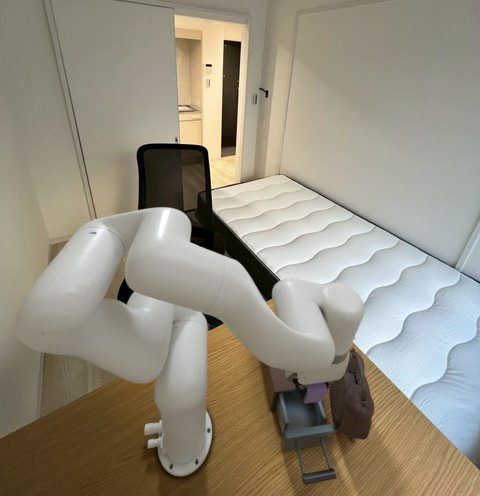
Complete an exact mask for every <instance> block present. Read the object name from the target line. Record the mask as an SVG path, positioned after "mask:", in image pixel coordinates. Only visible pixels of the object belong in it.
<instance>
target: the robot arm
mask: <svg viewBox="0 0 480 496" xmlns="http://www.w3.org/2000/svg"><path fill="white" fill-rule="evenodd" d="M191 236H192V222H191V220H190V218H189V217H188V216H187V214H185V212H183V211H181V210H180V209H177V208H173V207H166V206H164V207H163V206H160V207H150V208H149V207H148V208H144V209H138V210H133V211H128V212H122V213H118V214H117V213H116V214H113V215H112V214H111V215H107V216H103V217H98V218H94V219H93V220H92V219H91V220H90V221H89V222H86V223H84V224H83V225H82V226H81V227H79V228H77V230H76V231H75V232H74V233H73V235H72V236H71V237H70V238H69V240H68V241H67V242H66V243H65V245H64V246H63V247H62V248H61V249H60V251H59V252H58V253H57V255H56V256H55V257H54V258H52V260H51V262H50V263H49V264H48V265H47V267H45V269H44V271H43V272H42V273H41V274H40V275H39V277H38V278H37V280H36V281H35V282H34V284H33V285H32V287H30V289H29V290H28V293H27V294H26V296H24V299H23V300H22V302H21V304H20V305H19V308H18V309H17V312H16V315H15V319H14V331H15V334H16V336H17V337H18V339H19V340H20V342H22V343H23V344H24V345H25V346H27V347H29V348H30V349H31V350H34V351H36V352H40V353H45V354H49V355H56V356H57V355H58V356H69V357H74V358H77V359H81V360H83V361H85V362H87V363H89V364H91V365H93V366H95V367H97V368H99V369H101V370H104V371H106V372H108V373H110V374H111V375H114V376H116V377H118V378H120V379H123V380H125V381H128V382H129V383H133V384H136V385H146V384H149V383H151V382H153V381H154V380H155V382H154V388H153V401H154V403H155V406H156V407H157V409H158V410H159V415H160V416H159V417H160V420H159V422H150V423H149V422H148V423H145V425H144V430H143V436H152V435H154V434H157V438H151V439H148V440H147V449H154V448H157V454H158V458H159V461H160V463H161V465H162V467H163V469H164V470H165V471H166V472H167V473H168V474H170V475H172V476H175V477H179V478H180V477H187V476H189V475H191V474H192V473H194V472H196V470H198V469H199V468H200V467H201V466H202V465H203V463H204V461H205V460H206V459H207V456H208V454H209V451H210V448H211V444H212V439H213V426H212V425H213V424H212V421H211V417H210V414H209V413H208V410H207V395H208V382H209V380H208V374H209V373H208V371H209V369H208V367H209V365H208V364H209V363H208V359H209V358H208V357H209V355H208V354H209V351H208V340H209V339H208V337H209V332H208V331H209V330H208V321H207V319H206V317H205V315H208V316H212V317H215V318H217V319H219V320H220V321H221V322H222V323H223V325H224V326H225V327H226V328H227V329H228V331H229V332H230V333H231V334H232V336H233V337H234V338H235V339H236V340H237V341H238V342H239V343H240V345H242V346H243V347H244V348H245V349H246V350H247V351H248V352H249V353H250V354H251V355H252V356H253V357H254V358H256V359H257V360H258V361H260V362H261V363H262V362H263V363H265V364H266V365H268V366H271V367H274V368H278V369H282V370H286V371H285V372H284V375H285V379H286V380H287V381H293V383H294V384H295V388H296V392H297V393H299V395H300V399H301V400H302V399H304V397H305V394H306V391H307V389H306V386H307V384H314V383H322V382H325V384H326V386H327V389H328V391H327V393H329V386H330V385H333V384H334V380H338V379H341V378H342V377H343V375H344V373H346V372H348V371H349V369H348V367H347V366H348V362H349V349H350V350H351V347H352V345H353V342H354V340H356V335H357V333H358V331H359V328H360V326H361V324H362V321H363V318H364V315H365V303H364V301H363V299H362V298H361V296H360V294H359V293H358V292H357V291H356V290H355V289H353V288H352V287H351V286H349V285H347V284H345V283H341V282H330V283H329V282H328V283H327V284H325V283H319V282H313V281H308V280H305V279H300V278H284V279H281V280H279V281H277V282H276V283H275V284H274V285H273V288H272V291H271V299H272V304H273V307H274V310H272V309H271V308H270V306H269V305H268V303H267V302H266V301H265V299H264V297H263V296H262V294H261V292H260V291H259V289H258V287H257V285H256V284H255V281H254V280H253V278H252V277H251V275H250V274H249V272H248V271H247V270H246V268H245V267H244V266H243V265H242V264H241V262H239V261H238V260H237V259H234V258H231V257H228V256H226V255H223V254H220V253H218V252H216V251H213V250H210V249H207V248H205V247H202V246H200V245H197V244H195V243H193V242H191ZM124 257H126V260H125V264H124V280H125V282H126V284H127V286H128V288H129V289H131V290H132V291H133V293H131V295H130V296H129V299H128V301H127V303H125V302H122V301H121V300H118V299H114V298H105V297H106V295H107V292H108V290H109V288H110V286H111V284H112V282H113V279H114V278H115V276H116V273H117V271H118V269H119V266H120V264H121V262H122V259H123V258H124ZM273 311H274V312H275V313H274V312H273Z"/></svg>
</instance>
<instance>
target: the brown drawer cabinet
mask: <svg viewBox="0 0 480 496" xmlns="http://www.w3.org/2000/svg"><path fill="white" fill-rule="evenodd" d="M261 368H262V371H263V376H264V382H265V383H264V384H265V388H266V393H267V399H268V404H269V408H270V410H272V409H276V404H275V400H276V396H277V393H282V392H289V391H296V388H295V384H294V383H293V381H287V380H286V379H285V375H284V372H285V371H286V370H282V369H278V368H274V367H271V366H268V365H266V364H265V363H263V362H261Z"/></svg>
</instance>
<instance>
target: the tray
mask: <svg viewBox="0 0 480 496" xmlns="http://www.w3.org/2000/svg"><path fill="white" fill-rule="evenodd" d="M275 404H276V408H275V409H276V413H277V418H278V423H279V429H280V432H281V436H282V440H281V442H280V448H281V452H286V451H287V452H289V451H293V450H296V454H297V457H298V461H299V462H298V463H299V466H300V469H301V470H300V471H301V481H302V484H303V486H307V485H311V484H316V483H317V484H318V483H322V482H327V481H331V480H336V479H337V473H336V471H335V469H334V468H333V466H332V462H331V459H330V457H329V453H328V450H327V447H326V445H327V444H329V442H330V440H331V438H332V436H333V434H334V433H335V430H334V424H333V423H328V424H324V423H325V421H326V419H327V415H326V412H325V409H324V405H323V403H322V401H319V402H313V403H306V404H305V403H304V399H302V400H301V399H300V395H299V393H297V392H296V391H289V392H282V393H277V396H276V400H275ZM315 446H321V447H322V451H323V454H324V457H325V459H326V464H327V467H328V469H322V470H317V471H312V472H306V469H305V464H304V462H303V457H302V452H301V449H304V448H310V447H315Z"/></svg>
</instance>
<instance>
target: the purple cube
mask: <svg viewBox="0 0 480 496" xmlns="http://www.w3.org/2000/svg"><path fill="white" fill-rule="evenodd" d="M306 389H307V391H306V394H305V397H304V403H305V404H306V403H313V402H319V401H321V402H324V401H325V399H326V396H327V394H328V392H329V389H327V386H326V384H325V382H322V383H314V384H307V386H306ZM327 391H328V392H327Z"/></svg>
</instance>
